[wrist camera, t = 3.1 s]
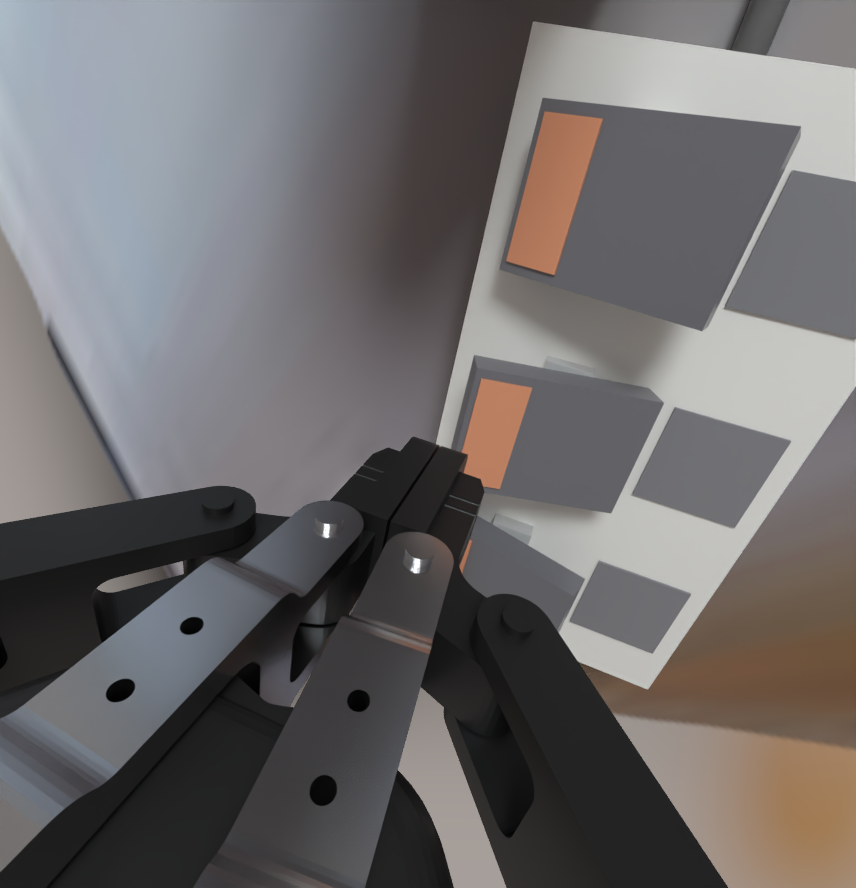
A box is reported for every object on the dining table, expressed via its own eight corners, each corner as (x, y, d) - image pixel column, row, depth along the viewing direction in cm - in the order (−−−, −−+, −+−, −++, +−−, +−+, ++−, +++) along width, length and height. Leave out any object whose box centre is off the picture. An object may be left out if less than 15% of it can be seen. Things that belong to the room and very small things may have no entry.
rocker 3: (585, 578, 17) (573, 597, 17) (548, 655, 20) (535, 675, 19) (453, 501, 20) (436, 513, 19) (433, 575, 22) (417, 590, 21)
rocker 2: (649, 388, 16) (665, 404, 15) (600, 494, 18) (612, 514, 17) (474, 354, 15) (477, 368, 14) (445, 468, 17) (446, 487, 16)
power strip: (1144, -206, 11) (1462, -453, 7) (641, 623, 25) (649, 703, 21) (619, -229, 13) (628, -426, 9) (427, 542, 27) (396, 600, 23)
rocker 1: (800, 137, 11) (801, 125, 10) (708, 326, 13) (701, 332, 12) (559, 108, 13) (541, 96, 12) (516, 269, 16) (498, 269, 15)
